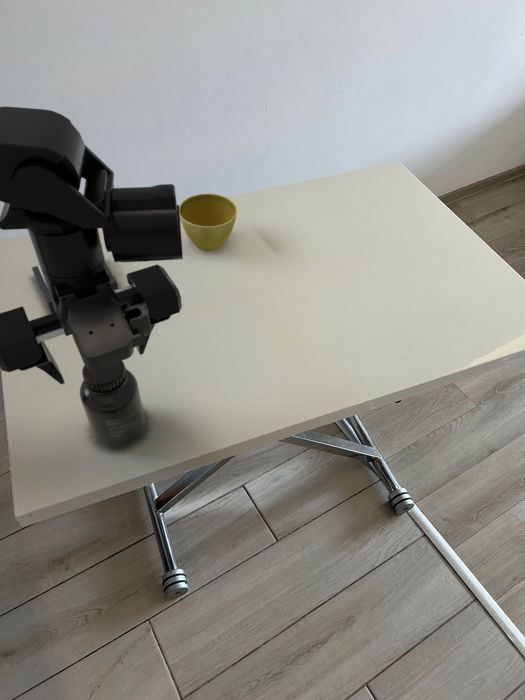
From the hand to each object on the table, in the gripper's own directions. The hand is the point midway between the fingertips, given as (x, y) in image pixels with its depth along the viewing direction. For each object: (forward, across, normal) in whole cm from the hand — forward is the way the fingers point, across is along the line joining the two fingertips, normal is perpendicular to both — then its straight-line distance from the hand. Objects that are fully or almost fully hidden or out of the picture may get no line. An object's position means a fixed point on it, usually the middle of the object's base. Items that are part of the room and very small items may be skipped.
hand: (102, 366), depth 61 cm
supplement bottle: (+13, 0, 0) cm, 13 cm away
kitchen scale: (+12, +4, +29) cm, 32 cm away
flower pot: (+13, +28, +30) cm, 43 cm away
